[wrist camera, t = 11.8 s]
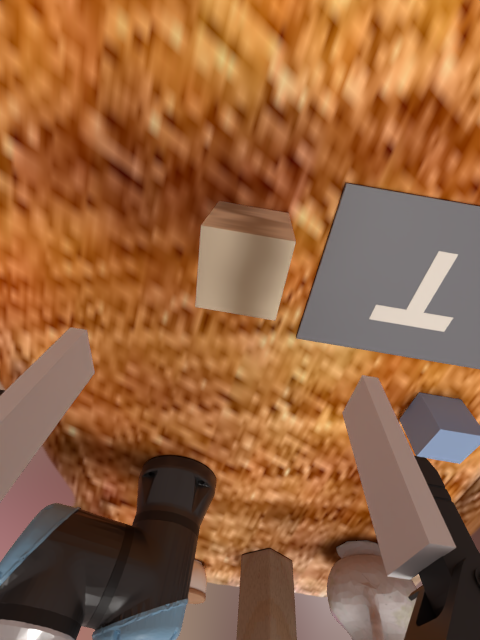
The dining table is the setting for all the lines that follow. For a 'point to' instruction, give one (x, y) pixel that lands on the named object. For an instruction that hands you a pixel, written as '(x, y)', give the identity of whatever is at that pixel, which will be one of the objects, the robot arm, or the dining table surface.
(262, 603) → the wooden block
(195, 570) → the lidded jar
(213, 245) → the maple block
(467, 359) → the board
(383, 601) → the ceramic pitcher
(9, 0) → the dining table surface
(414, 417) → the blue cube
